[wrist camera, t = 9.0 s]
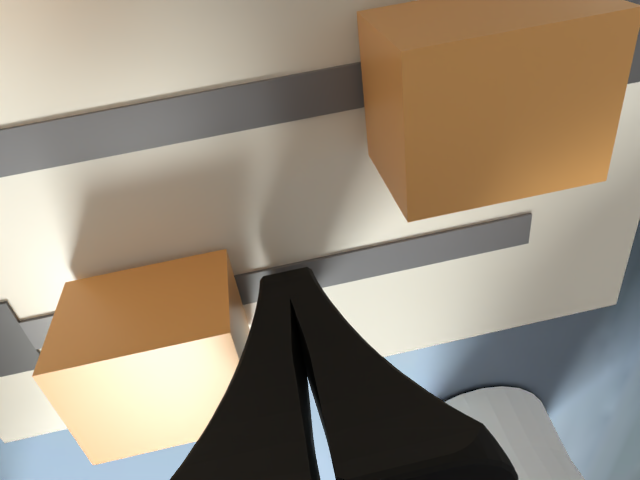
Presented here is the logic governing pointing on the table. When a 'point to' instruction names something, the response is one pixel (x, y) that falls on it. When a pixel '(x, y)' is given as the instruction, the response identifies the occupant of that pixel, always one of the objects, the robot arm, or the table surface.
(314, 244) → the switch board
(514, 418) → the cup
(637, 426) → the table surface
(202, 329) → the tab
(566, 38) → the tab middle
